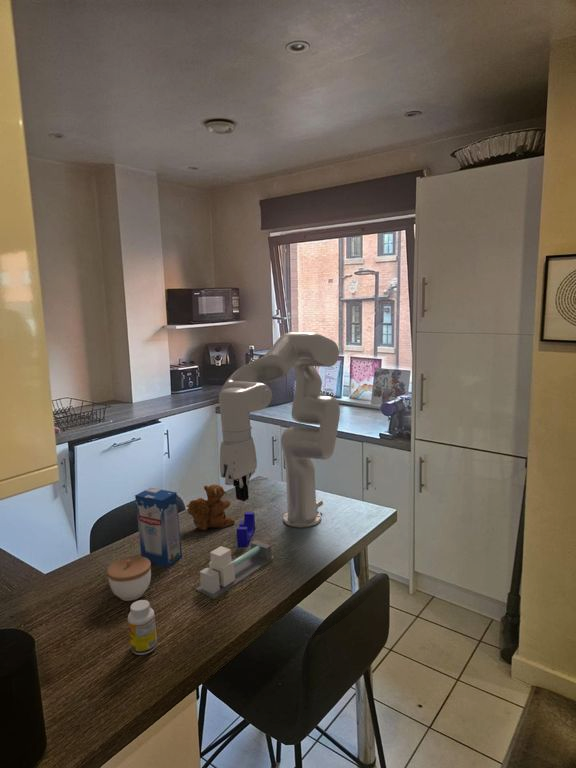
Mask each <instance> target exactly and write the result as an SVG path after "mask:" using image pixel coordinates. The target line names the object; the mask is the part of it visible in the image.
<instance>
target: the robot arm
mask: <svg viewBox="0 0 576 768" xmlns="http://www.w3.org/2000/svg"><path fill="white" fill-rule="evenodd" d="M339 358H340V350H339V347H338V345H337V343H336V342H335V341H333V339H330V338H329V337H327V336H325V335H322V334H321V333H320V334H319V333H316V332H312V331H311V332H310V331H308V332H307V331H306V332H304V331H301V332H300V331H298V332H297V331H296V332H295V331H291V332H286V333H283V334H282V335H280V337H279V338H278V339H277V340H276V341H275V342H274V343H273V345H272V346H271V347H270V349H268V350H267V352H266V353H265V354H264V355H263V356H262V357H260V358H257V359H255V360H253V361H251V362H249V363H247V364H245V365H242V366H241V367H239V368H238V369H236V370H235V371H234V372H233V373H232V374H231V375H230V376H229V377H228V378H227V380H226V381H225V382H224V384H223V386H222V388H221V391H220V392H219V395H218V399H219V412H220V420H221V421H220V422H221V433H222V441H221V442H220V447H219V448H220V449H219V450H220V451H219V472H220V476H221V478H224V479H225V480H224V485H227V486H233V487H235V498H236V500H239V501H241V502H246V501H248V500H249V498H250V497H249V487H248V486H249V485H250V479H251V477H252V475H254V474H255V473H256V470H257V467H258V466H257V465H258V463H257V462H258V460H257V451H256V446H255V442H254V439H253V436H252V426H251V418H250V414H251V413H252V412H258V411H262V410H264V409H266V408H268V406H269V405H270V404H271V402H272V400H273V393H272V392H273V391H272V389H271V388H270V386H269V385H268V384H267V383H270V382H275V381H278V380H281V379H283V378H284V377H285V376H286V375H287V374H288V372H290V370H291V369H292V368H293V370H294V373H295V379H296V384H295V390H294V395H293V401H292V405H291V406H292V407H291V418H292V420H293V421H294V422H297V423H299V424H306V425H314V426H319V428H312V427H307V426H305V427H304V426H290V427H287V428H286V429H284V431H283V433H282V434H281V437H280V443H281V445H280V446H281V449H282V453H283V459H284V464H285V465H284V466H285V483H286V484H285V486H286V503H287V507H286V508H287V512H285V513H284V515H283V518H282V521H283V522H284V524H285V525H288V526H289V527H293V528H309V527H313V526H315V525H317V524H319V523H321V521H322V515H321V513H320V511H318V509H319V507H322V506H323V505H324V501H323V500H321V499H319V500H317V497H316V495H317V494H316V469H315V465H314V462H313V461H312V459H313V460H315V459H316V460H321V461H322V460H323V461H324V460H325V461H326V460H329V459H330V458H331V457H332V455H333V454H334V451H335V447H336V441H337V435H338V429H339V423H340V417H341V409H340V404H339V401H338V400H337V399H336V398H335V397H333V396H328V395H321V393H322V386H323V380H322V378H321V375H320V374H319V372H318V370H317V369H316V368H315V367H323V368H324V367H325V368H326V367H327V368H329V367H333V366H335V365H336V364H337V362H338V361H339Z"/></svg>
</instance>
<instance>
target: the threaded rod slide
mask: <svg viewBox="0 0 576 768" xmlns="http://www.w3.org/2000/svg"><path fill="white" fill-rule="evenodd" d="M275 559H276V556H274V555H272V545H271V544H269V543H264V542H262V541H260V540H257V539H254V540H253V541H250V549H249V550H248V551H247V552H244V553H243V554H241V555H240V556H238V557H236V558H235V559H233V560H232V561H233V562H234V570H235V580H234V581H233V582H231V583H230V584H228V585H227V586H225V587H223V586H221V585H219V579H220V571H218V570H217V571H216V570H212V569H209V567H205V568H203V569H202V570H200V571H199V580H200V585H199V586H196V587H195V589H194V590H195V591H197V592H199V593H201V594H203V595H205V596H208V597H210V598H212V599H214V600H215V599H216V598H218V597H220V596H221V595H222V594H224V593H226V592H227V591H228V590H230V589H231V588H232V587H235V586H236V585H237V584H239V583H240V582H242V581H244V580H245V579H246V578H248V577H249V576H251V575H252V574H254V573H255V572H256V571H258V570H259V569H261V568H263V567H264V566H266V565H268V564H269V563H270V562H272V561H273V560H275Z"/></svg>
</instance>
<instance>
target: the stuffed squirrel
mask: <svg viewBox="0 0 576 768" xmlns="http://www.w3.org/2000/svg"><path fill="white" fill-rule="evenodd" d="M203 488H204V491H205V493H206V496H207V500H205V499H204V498H202V497H198V498H197V499H193V500H191V501H189V502H188V504H187V505H186V507H187V512H188V514H189V515H191V516H192V519H193V524H194V525H195V527H197V528H198V529H199V530H202V531H207V530H208V529H209V528H214V529H215V528H217V529H218V528H226V527H229V526H233V525H235V522H236V520H235V519H234V518H232V517H228V518H227V515H226V512H225V510H227V509H228V508H229V507H230V506H231V501H230V500H228V499H227V500H226V499H225V501H224V500H223V499H222V498H223V496H224V495H225V497H227V496H228V494H227V493H226V491H225V490H224V487H223V486H221V485H219V484H212V485H204V486H203ZM232 524H233V525H232Z"/></svg>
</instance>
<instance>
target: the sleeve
mask: <svg viewBox="0 0 576 768" xmlns="http://www.w3.org/2000/svg"><path fill="white" fill-rule="evenodd" d="M209 554H210V556H209V557H210V562H209V563H208V566H209V567H208V568H209V569H212V570H216V571H217V570H218V571H220V579H219V585H221V586H223V587H225V586H227V585H228V584H230V583H231V582H233V581H234V580H235V570H234V562H233V560H232V549H231V548H228V547H226V546H225V547H224V546H218V547H217V548H215V549H214V550H211V551H210V552H209Z"/></svg>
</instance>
